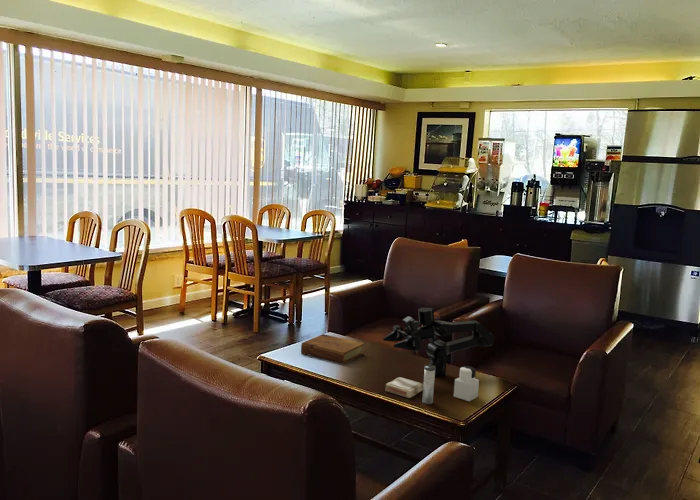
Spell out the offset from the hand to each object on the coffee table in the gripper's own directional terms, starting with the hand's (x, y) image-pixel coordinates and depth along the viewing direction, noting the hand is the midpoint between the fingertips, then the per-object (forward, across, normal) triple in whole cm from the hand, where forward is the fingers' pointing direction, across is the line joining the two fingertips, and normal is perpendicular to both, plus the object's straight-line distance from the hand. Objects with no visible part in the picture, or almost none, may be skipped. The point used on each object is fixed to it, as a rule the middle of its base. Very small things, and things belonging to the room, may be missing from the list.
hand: (388, 342), depth 237 cm
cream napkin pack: (+1, +12, +16) cm, 20 cm away
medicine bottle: (-19, +25, +20) cm, 37 cm away
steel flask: (-2, +25, +17) cm, 30 cm away
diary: (+11, -38, +15) cm, 43 cm away
